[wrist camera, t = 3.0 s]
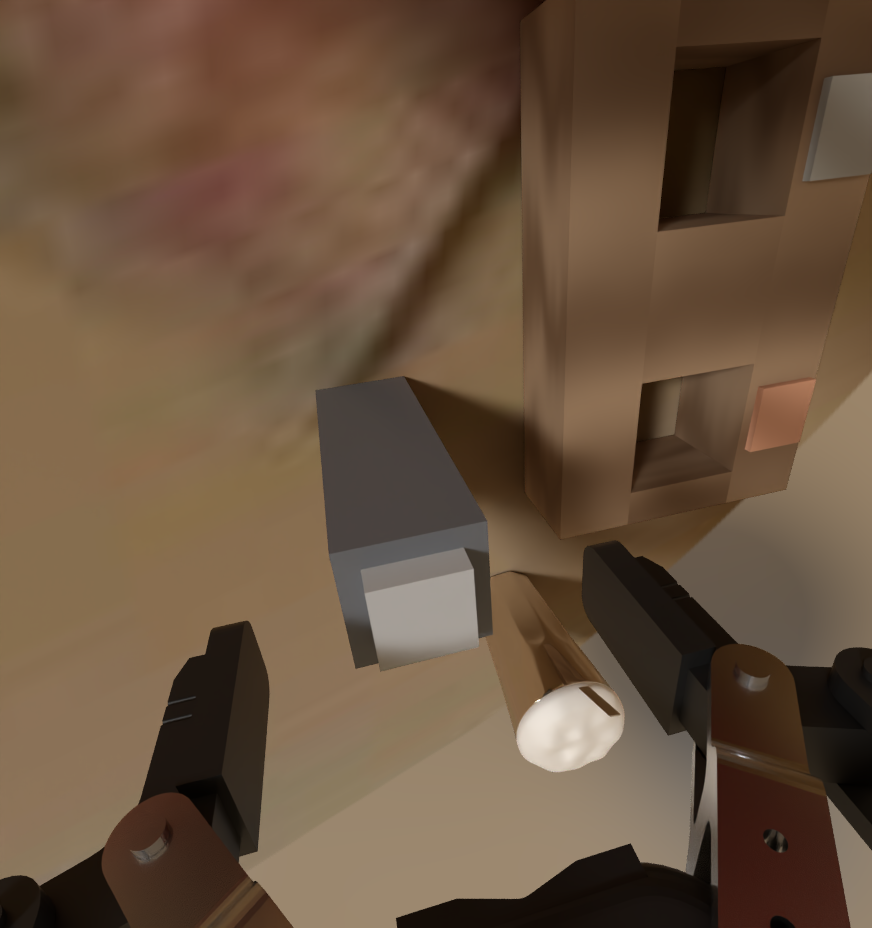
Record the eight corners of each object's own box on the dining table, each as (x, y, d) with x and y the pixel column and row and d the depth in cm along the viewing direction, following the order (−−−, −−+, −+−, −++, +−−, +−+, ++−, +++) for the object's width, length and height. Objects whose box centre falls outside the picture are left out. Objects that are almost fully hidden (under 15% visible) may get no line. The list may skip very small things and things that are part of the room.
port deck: (520, 21, 17) (581, -29, 13) (810, 5, 19) (937, -42, 15) (524, 492, 25) (563, 543, 22) (724, 452, 27) (791, 492, 23)
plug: (315, 390, 21) (330, 577, 11) (403, 376, 21) (498, 541, 11) (332, 469, 23) (358, 695, 12) (413, 453, 23) (503, 658, 13)
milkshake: (554, 546, 27) (671, 708, 19) (533, 623, 30) (630, 800, 21) (472, 549, 26) (557, 723, 18) (457, 629, 29) (526, 818, 20)
